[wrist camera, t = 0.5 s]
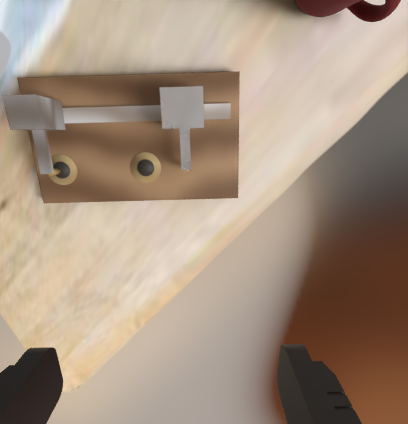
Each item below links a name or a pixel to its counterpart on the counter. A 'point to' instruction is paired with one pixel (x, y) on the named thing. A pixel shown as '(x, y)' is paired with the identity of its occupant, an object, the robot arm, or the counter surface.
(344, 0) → the mug
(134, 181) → the hole board
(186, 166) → the leg
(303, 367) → the robot arm
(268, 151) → the counter surface
